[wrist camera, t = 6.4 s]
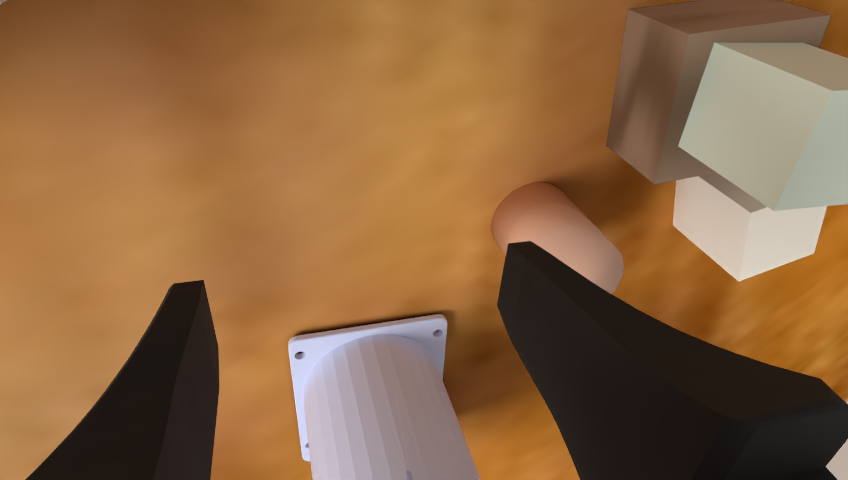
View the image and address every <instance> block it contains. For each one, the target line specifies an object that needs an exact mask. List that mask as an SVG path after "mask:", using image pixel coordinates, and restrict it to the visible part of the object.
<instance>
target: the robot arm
mask: <svg viewBox="0 0 848 480" xmlns="http://www.w3.org/2000/svg"><path fill="white" fill-rule="evenodd" d="M497 306H498V308H499V311H500V314H501V316H502V319H503V322H504V325H505V327H506V329H507V332H508V334H509V337H510V339H511V341H512V343H513V345H514V347H515V349H516V350H517V352H518V354H519V356H520V358H521V359H522V361H523V363H524V365H525V367H526V368H527V370H528V372H529V374H530V376H531V377H532V379H533V381H534V383H535V384H536V386H537V388H538V390H539V392H540V393H541V395H542V397H543V399H544V400H545V402H546V404H547V406H548V408H549V409H550V411H551V413H552V415H553V417H554V419H555V421H556V423H557V425H558V427H559V429H560V432H561V434H562V436H563V439H564V441H565V443H566V446H567V448H568V450H569V453H570V455H571V457H572V460H573V462H574V465H575V467H576V470H577V472H578V475H579V477H580V480H837V479H836V478H835V477H834V475H833V474H831V472H830V471H829V470H828V469H827V468H826V467H825V466H826V465H827V464H828V463H829V461H830V460H831V459H832V458H833V456H834V455H835V454H836V453H837V451H838V450H839V449H840V448H841V447H842V445H843V444H844V443H845V442H846V440H847V439H848V404H847V403H846V402H845V401H844V400H842V399H841V398H840V397H839V396H838V395H837V394H836V393H835V392H834V391H833V390H832V389H831V388H830V387H829V386H828V385H827V384H826V383H825V382H823V381H822V380H821V379H819V378H816V377H812V376H808V375H805V374H801V373H797V372H794V371H790V370H787V369H783V368H779V367H776V366H772V365H769V364H766V363H762V362H760V361H757V360H754V359H751V358H748V357H745V356H742V355H739V354H736V353H733V352H730V351H728V350H725V349H722V348H720V347H717V346H714V345H712V344H710V343H707V342H705V341H702V340H700V339H698V338H695V337H693V336H690V335H688V334H686V333H684V332H681V331H679V330H677V329H675V328H673V327H671V326H669V325H667V324H665V323H663V322H661V321H659V320H657V319H655V318H653V317H651V316H649V315H647V314H645V313H643V312H641V311H639V310H637V309H636V308H634V307H632V306H631V305H629V304H627V303H625V302H624V301H622V300H620V299H619V298H617V297H615V296H614V295H612V294H610V293H609V292H607V291H606V290H604V289H602V288H601V287H599V286H598V285H596V284H595V283H593V282H591V281H590V280H588V279H587V278H585V277H584V276H582V275H581V274H579V273H578V272H577V271H575V270H574V269H572V268H571V267H569V266H568V265H566V264H565V263H563V262H562V261H560V260H559V259H557V258H556V257H555V256H553V255H552V254H550V253H549V252H547V251H546V250H544V249H543V248H541V247H540V246H538V245H536V244H535V243H533V242H532V241H525V242H516V243H508V247H507V252H506V258H505V264H504V269H503V275H502V281H501V286H500V292H499V298H498V303H497ZM447 325H448V324H447V320H446V318H445V317H444V315H441V314H436V315H430V316H423V317H417V318H410V319H403V320H397V321H390V322H384V323H377V324H371V325H364V326H358V327H351V328H344V329H338V330H331V331H325V332H318V333H312V334H305V335H299V336H295V337H293V338H291V339H290V340H289V342H288V349H289V357H290V365H291V373H292V380H293V388H294V396H295V404H296V412H297V419H298V427H299V435H300V443H301V451H302V458H303V459H304V460H305V461H311V470H312V478H313V480H481V479H480V476H479V474H478V471H477V468H476V466H475V463H474V461H473V458H472V455H471V453H470V450H469V448H468V445H467V443H466V440H465V437H464V435H463V432H462V430H461V427H460V425H459V422H458V419H457V417H456V414H455V412H454V409H453V407H452V404H451V401H450V399H449V396H448V394H447V391H446V388H445V386H444V383H443V381H442V380H443V369H444V358H445V347H446V336H447ZM436 330H439V331H437V332H435V331H436ZM297 352H303V353H300V354H297ZM218 395H219V358H218V343H217V339H216V334H215V330H214V325H213V321H212V316H211V312H210V307H209V303H208V298H207V293H206V289H205V284H204V280H200V281H192V282H184V283H175V284H173V285H172V286H171V287H170V288H169V290H168V292H167V294H166V296H165V298H164V300H163V302H162V304H161V306H160V307H159V309H158V311H157V313H156V315H155V317H154V318H153V320H152V322H151V323H150V325H149V327H148V329H147V330H146V332H145V333H144V335H143V337H142V338H141V340H140V341H139V343H138V345H137V346H136V348H135V349H134V351H133V352H132V354H131V356H130V357H129V359H128V360H127V362H126V363H125V364H124V366H123V367H122V369H121V370H120V371H119V373H118V374H117V376H116V377H115V378H114V380H113V381H112V382H111V384H110V385H109V387H108V388H107V389H106V391H105V392H104V393H103V395H102V396H101V397H100V398H99V400H98V401H97V402H96V404H95V405H94V406H93V407H92V408H91V410H90V411H89V412H88V413H87V414H86V416H85V417H84V418H83V419H82V420H81V422H80V423H79V424H78V425H77V426H76V427H75V429H74V430H73V431H72V432H71V433H70V434H69V435H68V436H67V437H66V438H65V439H64V441H63V442H62V443H61V444H60V445H59V446H58V447H57V448H56V449H55V450H54V451H53V452H52V453H51V454H50V456H49V457H48V458H47V459H46V460H45V461H44V462H43V463H42V464H41V465H40V466H39V467H38V468H37V469H36V470H35V471H34V472H33V473H32V474H31V475H30V476H29V477H28V478H27V479H25V480H210V476H211V466H212V456H213V446H214V436H215V426H216V416H217V406H218Z"/></svg>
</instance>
